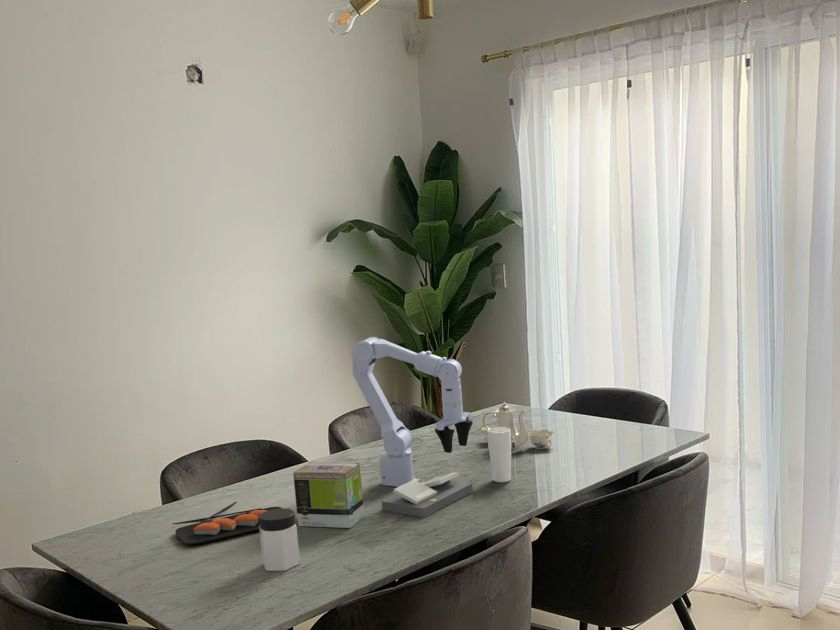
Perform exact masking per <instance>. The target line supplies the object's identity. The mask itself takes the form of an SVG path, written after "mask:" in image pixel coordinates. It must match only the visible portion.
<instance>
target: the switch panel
mask: <svg viewBox="0 0 840 630" xmlns="http://www.w3.org/2000/svg"><path fill="white" fill-rule="evenodd" d="M434 478H435V477H430V478H428V479H425V480H424V481H423V480H422V481H421V482H420V483H422V484H423V483H425V482H428V481H430V480H432V479H434ZM429 488H431V489H433V490H435V491H437V495H435V496H433V497H431V498H429V499H427V500H425V501H423V502H421V503H419V504H417V505H416V504H414V503H412V502H410V501H408V500H407V499H405V498H403V497H401V496H399V495H397V494H394V495H391V496H390V497H388V498H386V499H383V500H381V510H382V511H385V512H390V513H394V514H395V513H396V514H400V513H401V515H405V514H408V515H407V516H411V515H412V516H411V517H416V516H419V517H418V518H422V517H424V518H423V519H425V518H426V516H427V517H428V516H430V514H431V515H433V514H434V513H436V512H438V511H439V509H440V510H441V508H442V509H444V508H446V507H447V505H448V506H450V505H451V504H454V503H455V502H457V501H459V500H460V498H461V499H462V498H464V497H466V496H468V495H469V493H470V494H472V493H473V491H474V490H473V488H474V487H473V482H468V481H467V482H465V481H459V480H453V479H450V480H448V481H446V482H444V483H442V484H440V485H435V486H431V487H429ZM471 492H472V493H471ZM467 494H468V495H467ZM458 499H459V500H458ZM454 501H455V502H454ZM445 506H446V507H445ZM443 507H444V508H443ZM437 510H438V511H437ZM432 513H433V514H432Z"/></svg>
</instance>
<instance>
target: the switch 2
mask: <svg viewBox="0 0 840 630" xmlns="http://www.w3.org/2000/svg"><path fill="white" fill-rule="evenodd" d="M458 476H460V472H459V471H455V472H451V473H447V474H443V475H440V476H439V475H438V476H436V477H433V478H434V479H432V480H430V481H428V482H425V483H423V484H424V485H425V486H427V487H431V486H435V485H440V484H442V483H444V482H446V481H448V480H453V479H455V478H456V477H458Z"/></svg>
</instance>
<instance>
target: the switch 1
mask: <svg viewBox="0 0 840 630" xmlns="http://www.w3.org/2000/svg"><path fill="white" fill-rule="evenodd" d="M393 494H394V495H396V494H397V495H399V496H401V497H403V498H405V499H407V500H408V501H410V502H412V503H414V504H416V505H417V504H419V503H421V502H423V501H425V500H427V499H429V498H431V497H433V496H435V495H437V491H435V490H433V489H431V488H429V487H427V486H425V485H424V484H422V483H421V482H420V481H416V480H412V481H410V482H408V483H406V484H404V485H402V486H399V487H395V488H393Z"/></svg>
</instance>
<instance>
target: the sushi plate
mask: <svg viewBox="0 0 840 630" xmlns="http://www.w3.org/2000/svg"><path fill="white" fill-rule="evenodd" d="M237 503H238V501H234V502H232V503H230V504H229V505H227V506H226V507H224V508H222V509H221V510H219V511H218V512H216V513H214V514H212V515H211V516H209V517H202V518H197V519H190V520H185V521H180V522H173V523H172V525H180V524H186V523H187V524H188V523H192V524H188V525H185V526H180V527H178V528H176V529H175V534H176V535H175V536H177V539H179V540H180V542H181V543H182V544H184V545H187V546H189V545H191V546H192V545H198V544H204V543H207V542H211V541H216V540H219V539H224V538H229V537H233V536H237V535H242V534H246V533H250V532H255V531H259V515H260V514H262V513H263V512H266V511H269V510H273V509H284V508H282V507H280V506H269V507H266V508H265V507H264V508H261V507H260V508H254V509H249V510H242V511H238V512H232V513H225V514H221V513H223V512H224V511H226V510H228V509H231V508H232V507H233V506H234V505H235V504H237ZM219 514H220V515H219Z"/></svg>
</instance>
